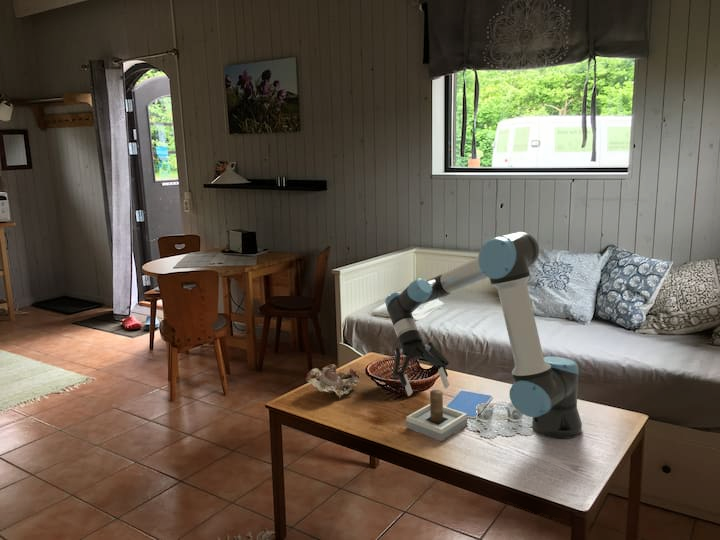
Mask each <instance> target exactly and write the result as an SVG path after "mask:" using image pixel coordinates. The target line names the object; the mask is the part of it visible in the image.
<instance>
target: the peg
mask: <svg viewBox="0 0 720 540" xmlns="http://www.w3.org/2000/svg"><path fill="white" fill-rule="evenodd" d="M429 396H430V397H429V400H430V401H429V402H430V403H429V404H430V420H431V422H432V423H434V424H437V425H439V424H441V423H443V406H444V404H443V403H444V402H443V401H444V398H443V396H444V394H443V391H442V390H441V389H432V390H430V392H429Z"/></svg>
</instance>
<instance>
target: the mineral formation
mask: <svg viewBox="0 0 720 540" xmlns="http://www.w3.org/2000/svg"><path fill="white" fill-rule="evenodd" d="M337 369H338V366H337V365H336V364H334V363H333V364H331V363H330V364H328V365H326V366H324V367H322V370H320V369H319V368H316V367H315V368H312V369H311V370H310V371H309V372H308V373H307V374H306V378H305V380H306V382H308V383H309V384H310V385H312V386H313V387H315V388H316V389H318V390H319V393H322V392H326V393H328V394H332V393H334V392H335V394H336V395H337V396H338V398H339V399H341V398H342V397H341V396H343V395H347V394H349V393H350V391H351V390H353V389H354V388H355V386H356V385H357V384H358V383H359V382H360V380H361V378H360V375H358V372H357V371H355V370H354V369H353V368H352V367H350V368H349V369H348V370H349V371H347V372H342V371H340V372H338V373H337Z"/></svg>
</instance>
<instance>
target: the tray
mask: <svg viewBox="0 0 720 540" xmlns="http://www.w3.org/2000/svg"><path fill="white" fill-rule="evenodd" d="M405 418H406V429H408V430H411V431H414V432H416V433H419V434H422V435H425V436H427V437H428V438H431V439H434V440H437V441H440V442H443V441H444V440H447V439H448V438H449V437H451V436H452V435H454V434H455V433H457V432H459V431H460V430H462V429H463V428H465V427H467V426H468V418H467V414H466V413H463V412H460V411H457V410H454V409H451V408H448V407H446V405H445V406H444V405H443V423H441V424H439V425H437V424H434V423H432V422H431V420H430V403H428V404H427V405H425V406H424V407H423V406H422V407H421V408H420V409H417V410H416V411H415V412H412V413H410V414H409V415H407V416H406V417H405Z"/></svg>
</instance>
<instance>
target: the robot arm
mask: <svg viewBox="0 0 720 540" xmlns="http://www.w3.org/2000/svg"><path fill="white" fill-rule="evenodd" d="M539 255H540V246H539V243H538V240H537V239H536V238H535V237H534V236H533V235H531V234H529V233H527V232H525V231H516V232H515V231H514V232H512V233H508V234H503V235H499V236H496V237H493V238H491V239H489V240H487V241H486V242H485V243H484V244H483V245H482V246H481V248H480V250H479V252H478V256H477V257H476V258H474V259H472V260H471V261H468V262H466V263H463V264H461V265H459V266H457V267H455V268H452V269H449V270H447V271H446V272H444V273H441V274H439V275H437V276H435V277H432V278H429V279H424V278H421V277H420V278H416V279H414V280H413V281H412V282H409V283H410V284H408V286H407V287H406V288H405V289H403V291H402V292H401V291H396V292H392V293H391V294H389V295H388V296H386V298H385V299H384V300H385V301H384V303H385V306H386V311H387V313H388V315H389V317H390V320H391V323H392V326H393V328H394V331H395V334H396V336H397V338H398V340H397V341H398V342H399V345H400V347H401V348H399V347H396V348H395V349H394V351H393V354H394V355H393V356H394V362H393V370H392V377H393V378H397V379H399V381H400V384H401V386H402V387H404V388H405V391H406V393H407V397H410V396H412V395H413V389H412V386H411V384H410V380H409V378H408V376H407V373H406V374H404V373H405V371H406V369H407V366H408V365H409V361H414V360H420V359H423V360H425V361H427V362H429V363H430V364H431V365H432V366H433V367H436V368H437V369H438V371H437V372H438V375H439V377H440V380H441V382H442V384H443V387H444V389H447V388H448V387H449V386H450V382H449V379H448V376H449V374H448V372H447V369H446V368H447V366H448V365H449V364H450V362H449V361H448V360H447V359H446V358H445V357H444V356H443V355H442V354H441V353H440V352H439V351H438V349H436V347H434V345H433V342H431V341H429V342H428V343H426V344H424V343H423V341H422V337H421V334H420V331H419V330H418V326H417V324H416V321H415V318H414V316H413V312H415V311H416V310H417V309H418V308H419V307H420V306H422V305H424V304H427V303H429V302H432V301H435V300H438V299H441V298H445V297H447V296H449V295H451V294H452V293H455V292H458V291H460V290H462V289H464V288H467V287H469V286H472V285H474V284H476V283H479V282H481V281H484V280H486V279H488V278H489V281H490V284H491V286H493V287H494V288H496V290H497V292H498V296H499V297H498V298H499V301H500V305H501V310H502V315H503V318H504V322H505V326H506V331H507V336H508V339H509V344H510V348H511V353H512V357H513V361H514V368H513V369H512V371H511V375H512V380H513V383H512V384H511V387H510V389H509V399H510V402H511V404H512V405H513V407H514V408H515V409H516V410H517V411H519V412H520V413H521V415H524V416H525V417H529V418H532V420H531V422H532V424H531V425H532V428H533V430H534V431H535V432H536V433H538V434H539V435H542V436H544V437H547V438H553V439H561V440H562V439H563V440H564V439H572V438H575V437H578V436H580V434H581V433H582V429H583V423H582V419H581V416H580V413H579V409H578V405H577V404H578V388H579V387H578V386H579V375H580V373H579V364H578V363H577V362H575V361H574V360H572V359H569V358H566V357H561V356H544V354H543V353H544V352H543V349H542V344H541V340H540V335H539V331H538V326H537V323H536V318H535V314H534V309H533V306H532V301H531V296H530V293H529V288H528V284H527V282H528V281H529V279H530V278H531V273H530V270H529V268H531V266H533V265H534V264H535V263H536V261H537V260H538V258H539ZM401 355H404V356H405V357H404V361H403V363H402V365H401V368H400V363H401V362H400V361H401ZM399 369H400V370H399Z"/></svg>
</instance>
